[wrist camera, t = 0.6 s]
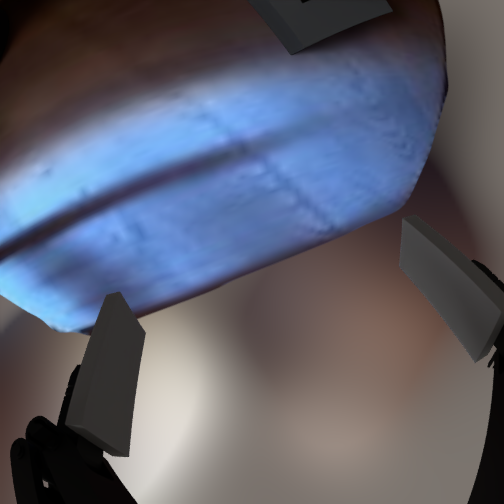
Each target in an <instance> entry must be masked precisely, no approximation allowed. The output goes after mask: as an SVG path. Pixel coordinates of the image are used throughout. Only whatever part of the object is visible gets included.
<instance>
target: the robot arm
mask: <svg viewBox="0 0 504 504" xmlns="http://www.w3.org/2000/svg"><path fill="white" fill-rule="evenodd" d="M8 30H9V21H8V16H7V14H6V12H5V11H4V10H3V9H1V8H0V58H1V55H2V53H3V50H4V47H5V44H6V41H7V36H8ZM399 267H400V268H401V269H402V270H403V271H404V273H405V274H406V275H407V276H408V277H409V278H410V279H411V281H412V282H413V283H414V284H415V285H416V286H417V288H418V289H419V290H420V291H421V292H422V294H423V295H424V296H425V297H426V298H427V299H428V301H429V302H430V303H431V305H432V306H433V307H434V308H435V309H436V311H437V312H438V313H439V314H440V316H441V317H442V318H443V320H444V321H445V322H446V324H447V325H448V326H449V327H450V329H451V330H452V331H453V333H454V334H455V335H456V337H457V338H458V340H459V341H460V342H461V344H462V345H463V346H464V348H465V349H466V350H467V352H468V353H469V355H470V356H471V358H472V359H473V360H474V362H475V363H476V362H477V361H479V360H480V359H482V358H483V357H485V356H486V355H488V353H489V352H490V350H491V348H492V346H493V344H494V346H495V347H496V348H497V350H496V352H495V353H494V355H493V356H492V358H491V360H490V361H489V363H488V367H490V366H491V365H492V363H493V361H494V366H493V368H494V378H493V391H492V401H491V409H490V416H489V423H488V429H487V435H486V440H485V445H484V449H483V453H482V457H481V462H480V465H479V469H478V473H477V476H476V480H475V483H474V486H473V489H472V492H471V495H470V498H469V501H468V503H467V504H504V284H503V282H501V281H500V280H498V278H497V277H496V276H495V275H494V274H492V272H491V271H490V270H489V269H488V268H487V267H486V266H485V265H483V264H481V263H479V262H478V261H476V260H472V261H470V260H469V259H468V258H467V257H466V256H465V255H464V254H463V253H462V252H460V251H459V250H458V249H457V248H456V247H455V246H453V245H452V244H451V243H450V242H449V241H448V240H446V239H445V238H444V237H443V236H441V235H440V234H439V233H438V232H437V231H435V230H434V229H433V228H432V227H430V226H429V225H427V223H425V222H424V221H423V220H421V219H420V218H419V217H418V216H416V215H412V216H409V217H405V218H403V220H402V238H401V253H400V264H399ZM145 334H146V333H145V331H144V330H143V328H142V326H141V325H140V324H139V322H138V320H137V319H136V317H135V315H134V314H133V312H132V311H131V309H130V307H129V306H128V304H127V303H126V301H125V299H124V298H123V296H122V294H121V292H116V293H112V294H108V295H106V297H105V300H104V302H103V305H102V307H101V310H100V312H99V315H98V318H97V320H96V323H95V326H94V328H93V331H92V334H91V337H90V340H89V342H88V345H87V348H86V351H85V354H84V357H83V360H82V363H81V365H77V366H76V368H75V369H74V371H73V372H72V374H71V376H70V379H69V382H68V388H67V389H66V392H65V395H66V396H64V400H63V403H62V407H61V411H60V415H59V419H58V423H57V426H56V425H54V424H53V423H52V422H50V421H49V420H48V419H46V418H45V417H43V416H37V417H35V418H33V419H32V420H31V421H30V422H29V424H28V426H27V428H26V433H25V434H26V439H24V438H18V439H17V440H15V441H14V442H13V444H12V447H11V450H10V458H11V468H12V477H13V484H14V490H15V496H16V500H17V504H137V502H136V501H135V499H134V498H133V497H132V496H131V494H130V493H129V491H128V490H127V489H126V488H125V486H124V485H123V483H122V482H121V481H120V479H119V478H118V476H117V475H116V473H115V472H114V470H113V469H112V467H111V466H110V464H109V462H108V461H107V460H106V459H105V458H104V457H103V451H105V452H106V453H108V454H110V455H112V456H117V457H129V449H130V439H131V428H132V419H133V411H134V403H135V395H136V388H137V381H138V375H139V368H140V362H141V356H142V351H143V345H144V340H145ZM43 480H44V481H46V482H48V486H49V487H48V488H46V487H44V485H43Z"/></svg>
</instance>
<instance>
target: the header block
mask: <svg viewBox="0 0 504 504" xmlns="http://www.w3.org/2000/svg"><path fill="white" fill-rule="evenodd" d="M248 2H249V3H250V4H251V5H252V6H253V7H254V9H255V10H256V11H257V12H258V13H259V15H260V16H261V17H262V18H263V19H264V21H265V22H266V23H267V24H268V26H269V27H270V28H271V29H272V31H273V32H274V33H275V35H276V36H277V37H278V38H279V40H280V41H281V42H282V44H283V45H284V47H285V48H286V49H287V51H288V52H289V53H290V55H292V54H294V53H296V52H298V51H300V50H302V49H304V48H306V47H308V46H310V45H312V44H314V43H316V42H318V41H320V40H322V39H325V38H327V37H329V36H331V35H333V34H335V33H338V32H340V31H342V30H345V29H347V28H349V27H352V26H354V25H357V24H359V23H362V22H364V21H367V20H370V19H372V18H375V17H378V16H381V15H383V14H386V13H389V12H392V11H393V10H392V9H391V7H390V6H389V4H388V2H387V1H386V0H310V1H307V2H305V3H302V2H301V1H300V0H248Z"/></svg>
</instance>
